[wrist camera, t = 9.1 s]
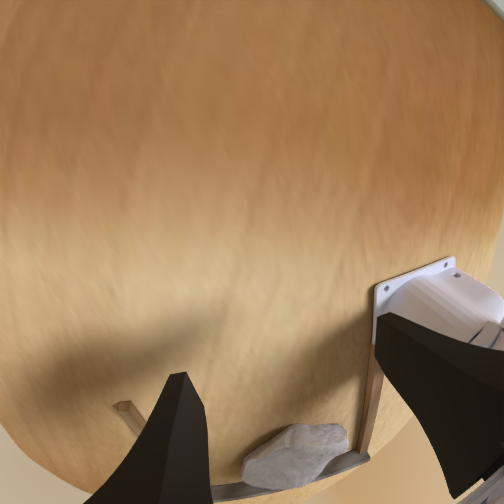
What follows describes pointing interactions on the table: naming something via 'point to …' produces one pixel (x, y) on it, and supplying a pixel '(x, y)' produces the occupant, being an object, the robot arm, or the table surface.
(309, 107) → the table surface
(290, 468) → the stone block
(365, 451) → the u-shaped frame
